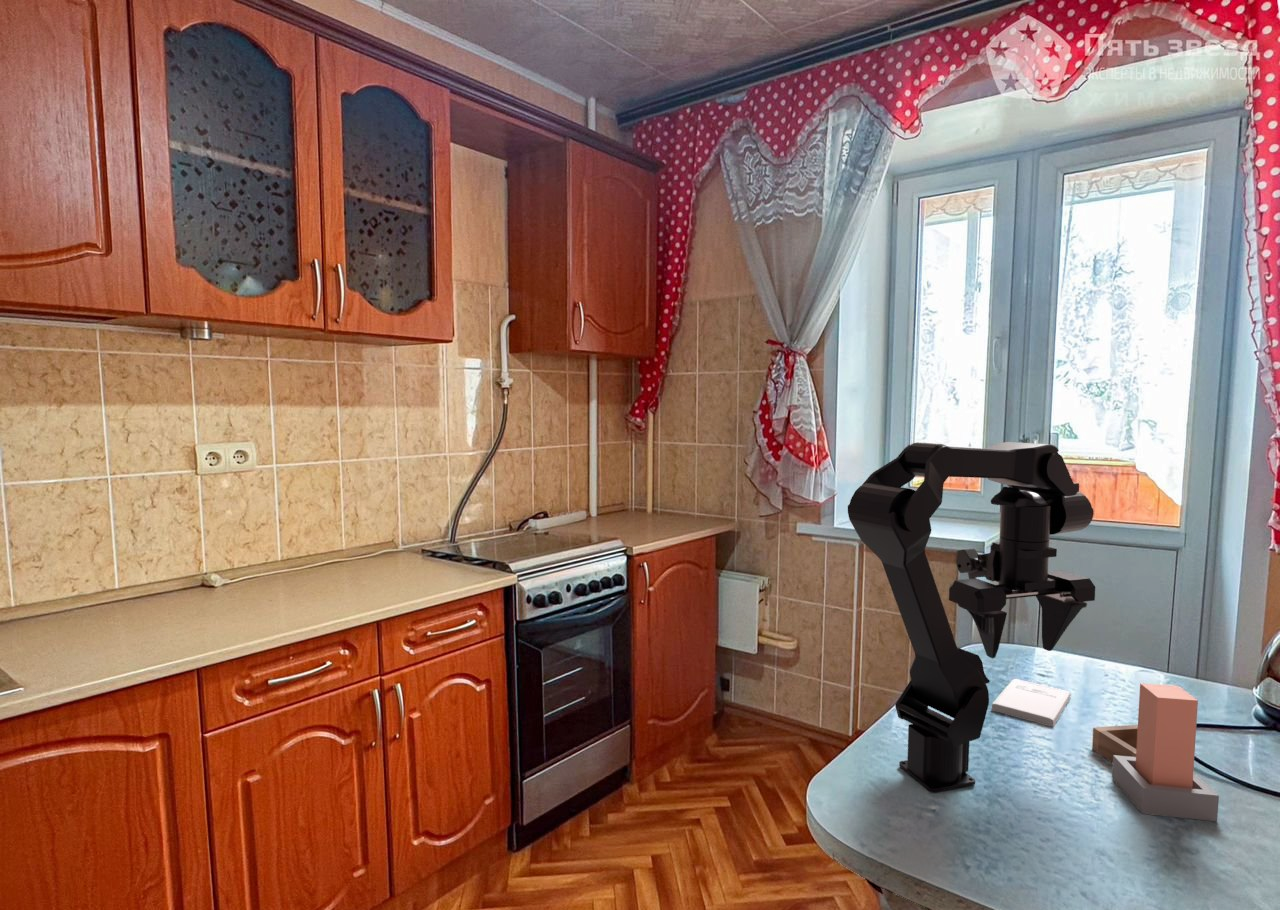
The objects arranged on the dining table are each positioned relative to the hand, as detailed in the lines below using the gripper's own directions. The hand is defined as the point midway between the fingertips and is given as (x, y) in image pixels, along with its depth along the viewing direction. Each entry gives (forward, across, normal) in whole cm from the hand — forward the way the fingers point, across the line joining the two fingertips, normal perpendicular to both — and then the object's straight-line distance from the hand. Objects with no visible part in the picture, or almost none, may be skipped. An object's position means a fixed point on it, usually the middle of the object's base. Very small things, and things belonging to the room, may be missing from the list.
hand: (1019, 653), depth 92 cm
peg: (+13, -7, +14) cm, 21 cm away
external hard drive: (+14, -13, -10) cm, 21 cm away
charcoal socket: (+13, -7, +14) cm, 21 cm away
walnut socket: (+13, -12, +8) cm, 20 cm away
